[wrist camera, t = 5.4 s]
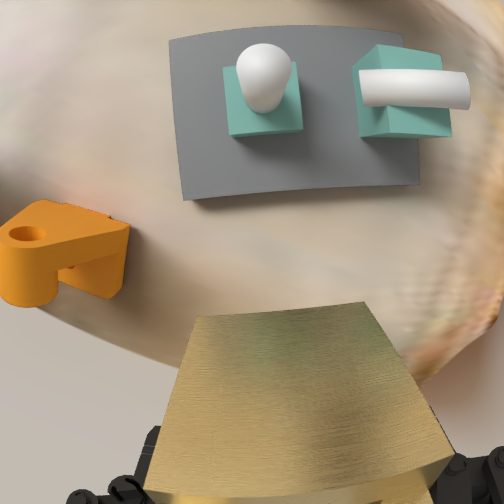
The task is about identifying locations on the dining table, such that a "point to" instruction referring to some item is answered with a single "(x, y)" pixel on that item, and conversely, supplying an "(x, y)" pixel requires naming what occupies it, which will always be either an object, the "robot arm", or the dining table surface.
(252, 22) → the dining table surface
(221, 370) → the sleeve
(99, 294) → the bracket
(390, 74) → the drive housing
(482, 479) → the robot arm
